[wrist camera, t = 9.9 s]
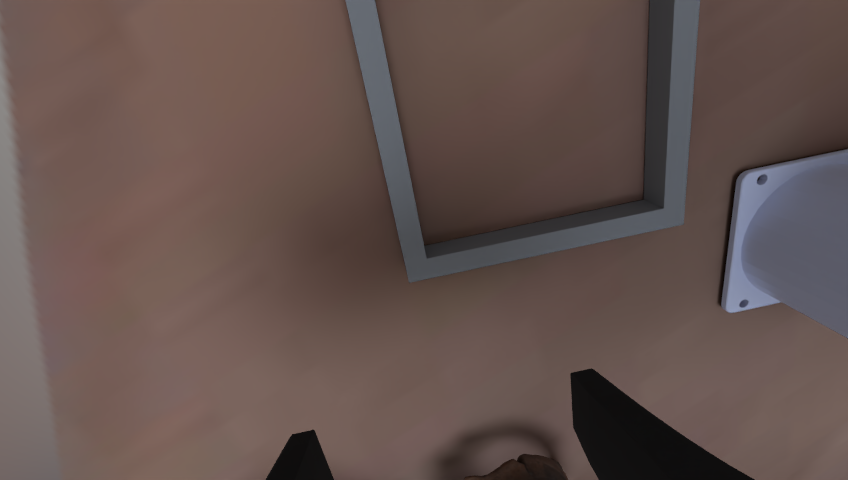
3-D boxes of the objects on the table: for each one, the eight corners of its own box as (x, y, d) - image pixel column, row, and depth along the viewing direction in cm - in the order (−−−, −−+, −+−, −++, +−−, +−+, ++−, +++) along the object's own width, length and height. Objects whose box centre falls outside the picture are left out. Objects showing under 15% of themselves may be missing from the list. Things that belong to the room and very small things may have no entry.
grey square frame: (678, -109, 15) (709, -129, 13) (662, 214, 20) (683, 224, 18) (336, -44, 15) (332, -57, 13) (407, 268, 19) (409, 282, 18)
